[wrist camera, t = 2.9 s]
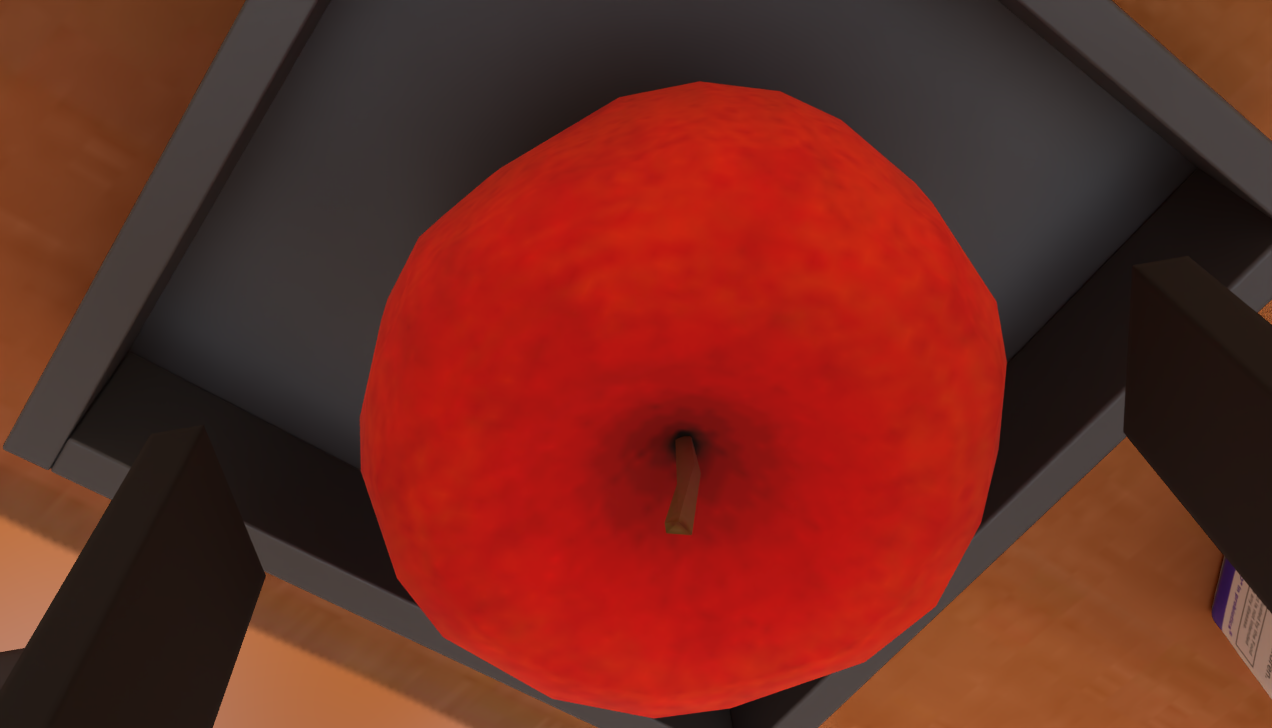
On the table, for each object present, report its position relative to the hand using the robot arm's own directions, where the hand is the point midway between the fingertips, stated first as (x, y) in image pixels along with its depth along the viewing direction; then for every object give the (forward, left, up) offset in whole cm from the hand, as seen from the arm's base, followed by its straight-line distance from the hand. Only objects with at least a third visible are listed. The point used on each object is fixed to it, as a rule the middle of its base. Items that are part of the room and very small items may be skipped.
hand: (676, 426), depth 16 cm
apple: (0, 0, -6) cm, 6 cm away
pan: (0, 0, -6) cm, 6 cm away
